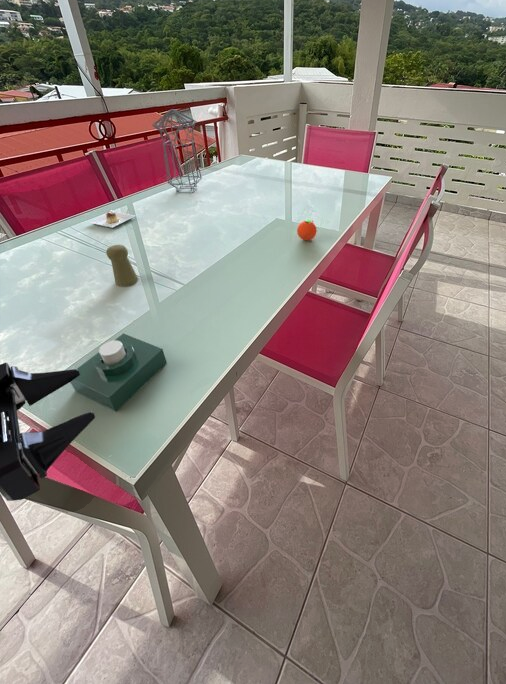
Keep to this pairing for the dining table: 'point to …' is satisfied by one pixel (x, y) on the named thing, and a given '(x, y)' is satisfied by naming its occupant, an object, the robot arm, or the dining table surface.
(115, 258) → the cork
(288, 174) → the dining table surface
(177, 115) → the geometric lantern
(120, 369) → the green push button box
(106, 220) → the dessert
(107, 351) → the white push button
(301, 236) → the clementine
